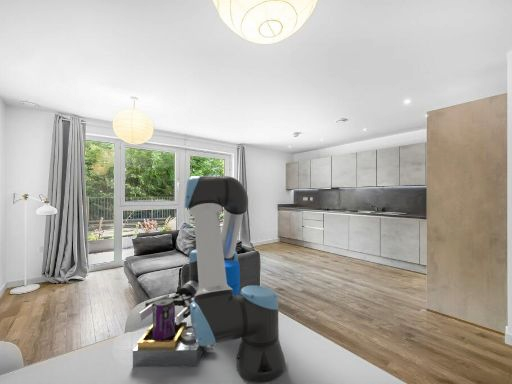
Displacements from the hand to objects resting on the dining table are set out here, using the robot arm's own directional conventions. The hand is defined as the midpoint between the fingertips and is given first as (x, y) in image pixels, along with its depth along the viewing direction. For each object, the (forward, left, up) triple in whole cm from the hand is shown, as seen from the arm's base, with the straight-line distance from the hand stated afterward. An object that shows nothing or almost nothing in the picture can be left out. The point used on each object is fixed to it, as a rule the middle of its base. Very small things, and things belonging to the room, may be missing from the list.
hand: (158, 318), depth 79 cm
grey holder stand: (-3, -6, -13) cm, 14 cm away
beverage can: (+1, -3, -8) cm, 8 cm away
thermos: (-4, -29, -13) cm, 32 cm away
